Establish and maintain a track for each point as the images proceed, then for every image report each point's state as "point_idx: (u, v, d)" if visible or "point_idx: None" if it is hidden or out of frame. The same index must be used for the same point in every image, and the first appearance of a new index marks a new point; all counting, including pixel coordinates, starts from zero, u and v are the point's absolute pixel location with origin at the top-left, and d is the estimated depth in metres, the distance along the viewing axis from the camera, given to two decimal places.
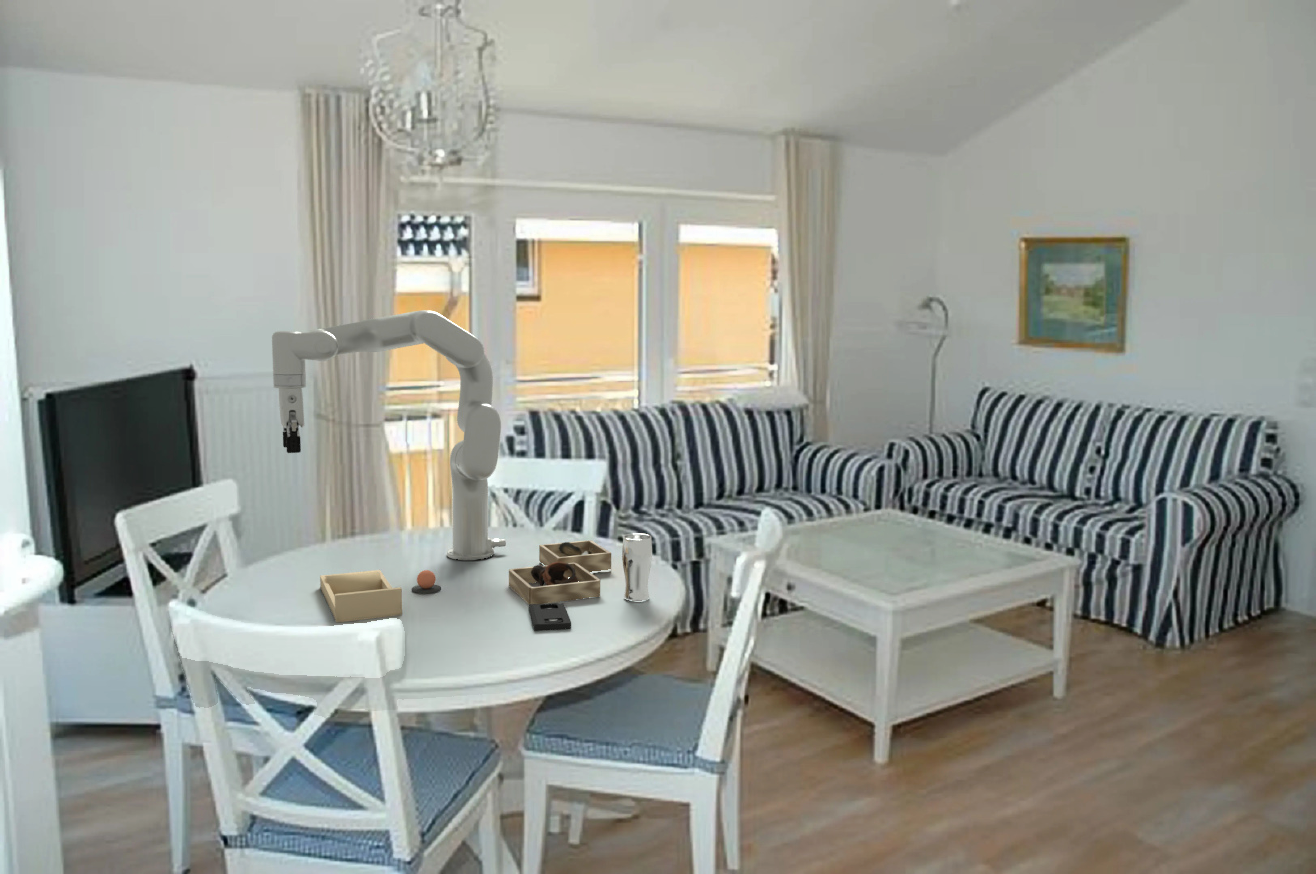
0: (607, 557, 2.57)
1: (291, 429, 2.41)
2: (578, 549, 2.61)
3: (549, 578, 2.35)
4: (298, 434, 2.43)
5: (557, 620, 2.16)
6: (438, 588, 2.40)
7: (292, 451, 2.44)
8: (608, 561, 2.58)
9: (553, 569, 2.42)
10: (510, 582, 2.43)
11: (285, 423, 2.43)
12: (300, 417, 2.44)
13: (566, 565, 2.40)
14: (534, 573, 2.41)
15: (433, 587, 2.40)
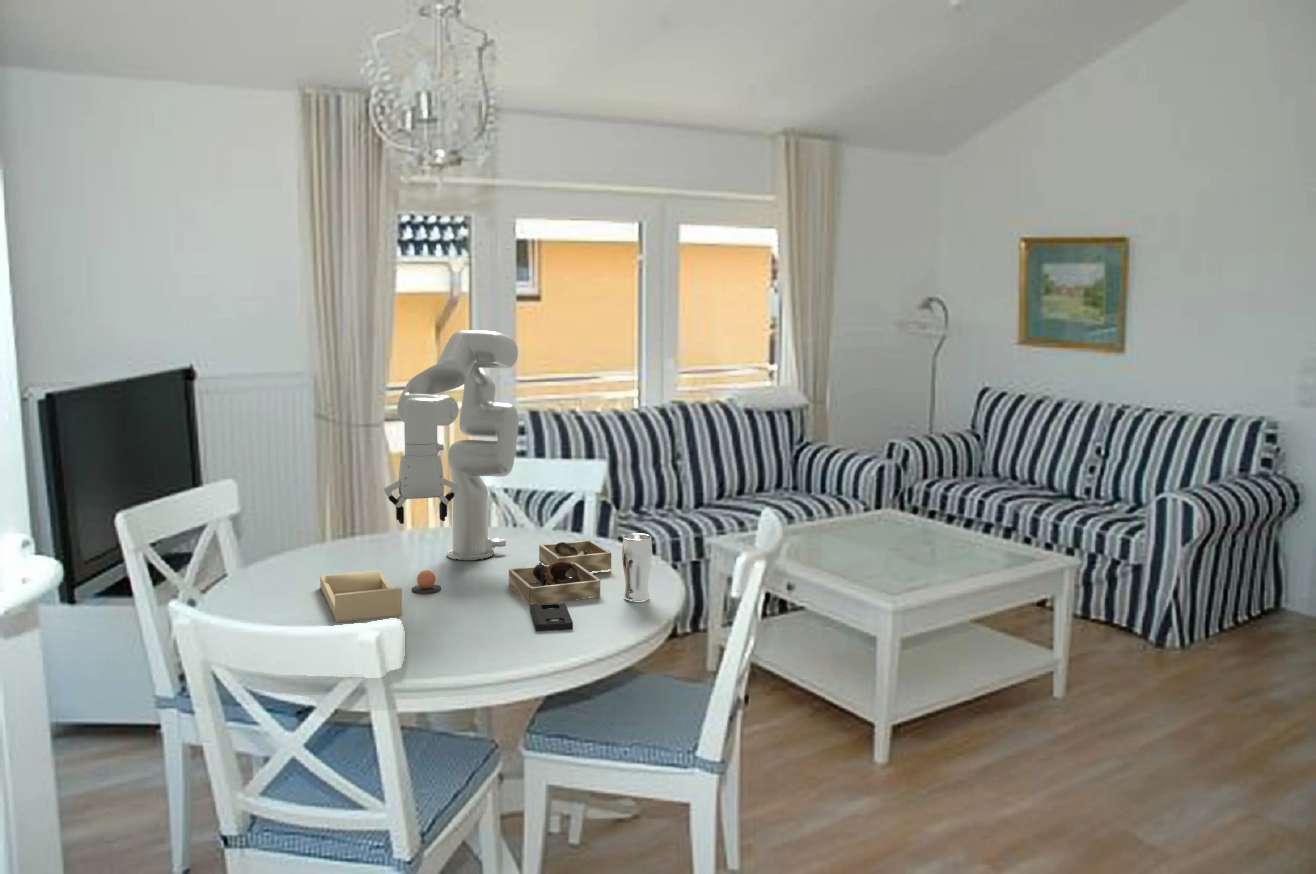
0: (607, 557, 2.57)
1: None
2: (574, 549, 2.60)
3: (551, 577, 2.36)
4: None
5: (558, 620, 2.16)
6: (438, 588, 2.40)
7: None
8: (608, 561, 2.58)
9: (555, 568, 2.43)
10: (510, 582, 2.43)
11: (443, 491, 2.37)
12: None
13: (568, 564, 2.40)
14: (536, 572, 2.42)
15: (433, 587, 2.40)
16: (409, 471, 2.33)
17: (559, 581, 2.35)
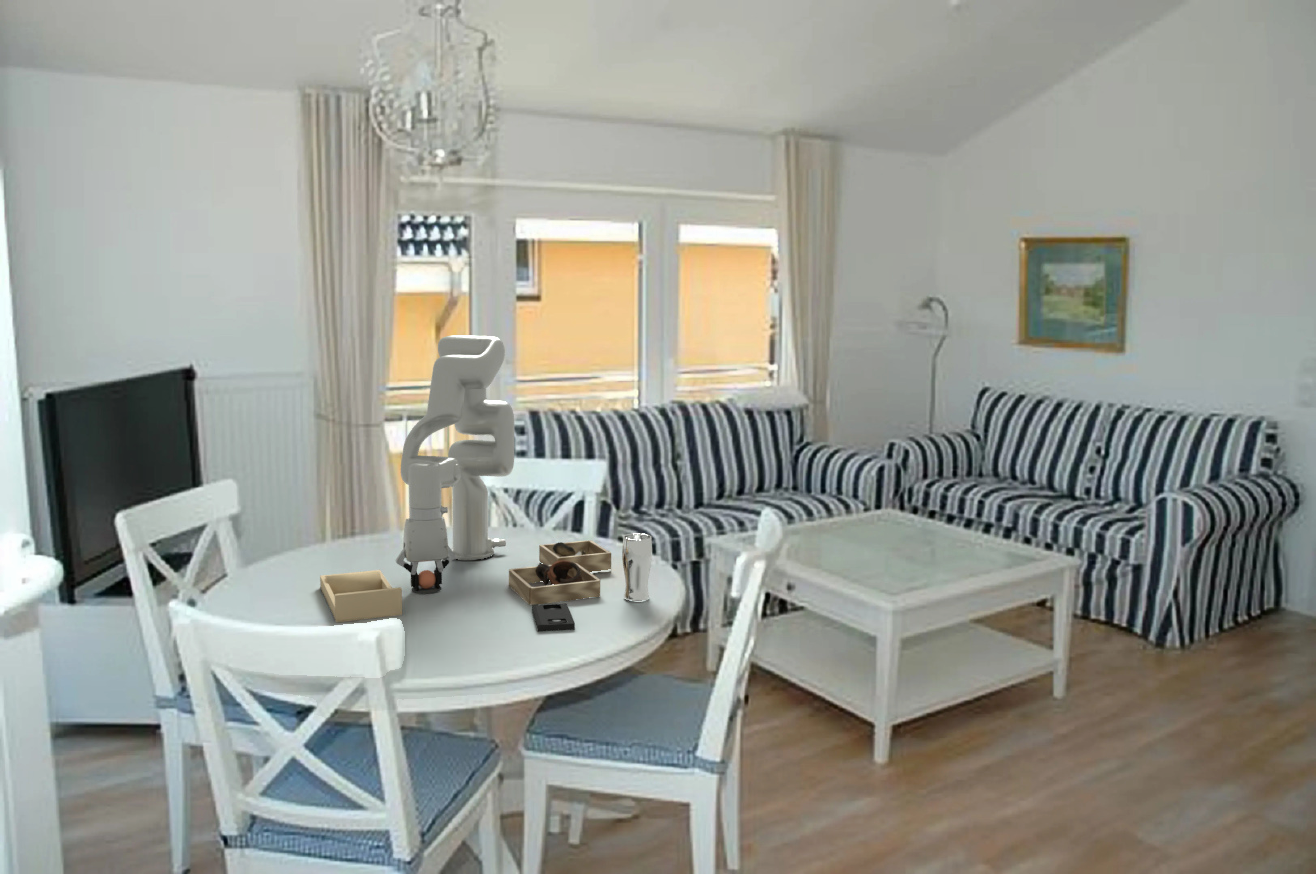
0: (607, 557, 2.57)
1: (448, 562, 2.40)
2: (572, 549, 2.60)
3: (554, 576, 2.37)
4: None
5: (560, 620, 2.15)
6: None
7: None
8: (608, 561, 2.58)
9: (557, 568, 2.44)
10: (510, 582, 2.43)
11: (447, 553, 2.39)
12: None
13: (571, 564, 2.41)
14: (539, 572, 2.42)
15: (433, 587, 2.40)
16: (414, 535, 2.34)
17: (562, 580, 2.36)
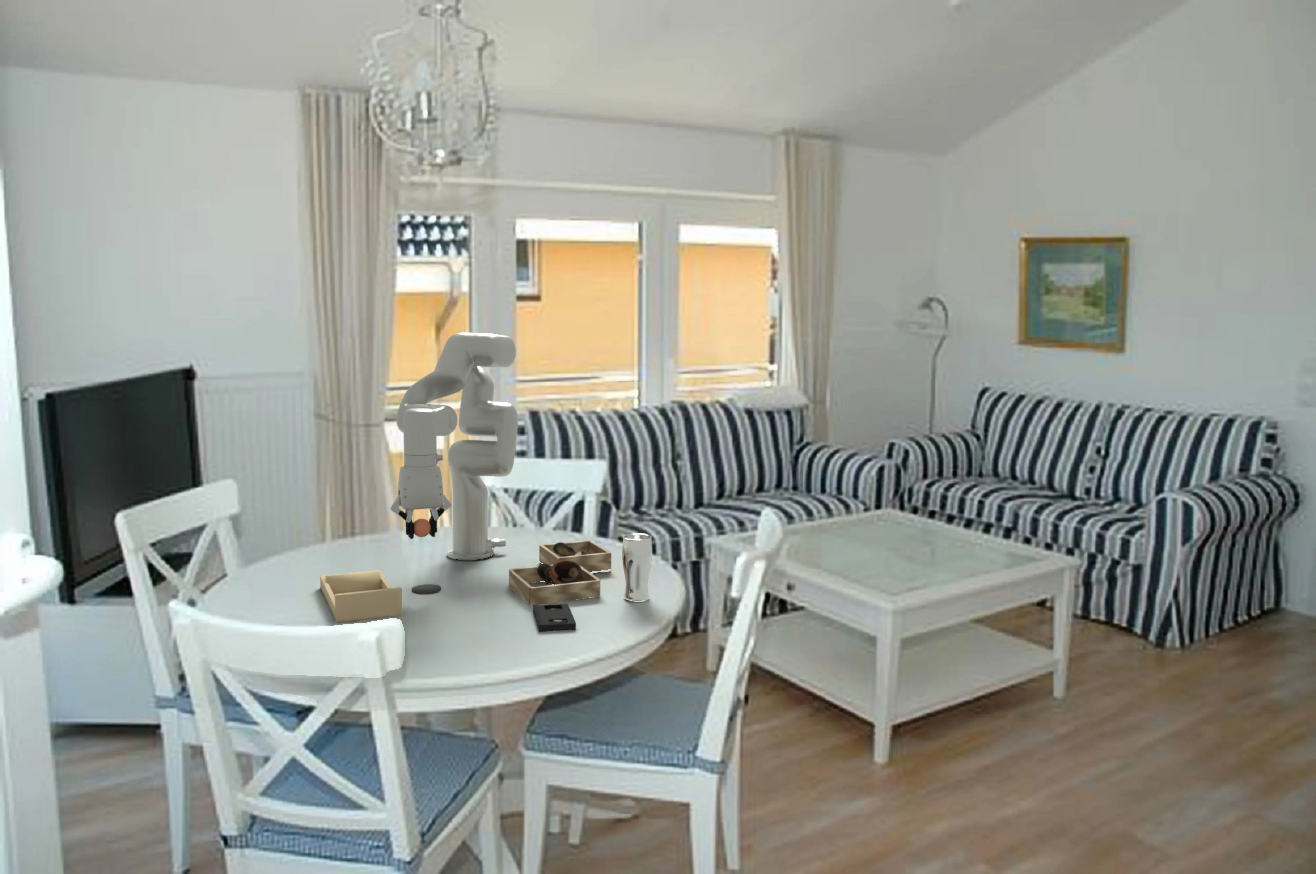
0: (607, 557, 2.57)
1: (444, 510, 2.39)
2: (572, 549, 2.60)
3: (556, 576, 2.37)
4: None
5: (561, 620, 2.15)
6: (438, 588, 2.40)
7: None
8: (608, 561, 2.58)
9: (559, 567, 2.44)
10: (510, 582, 2.43)
11: (443, 501, 2.37)
12: None
13: (572, 563, 2.42)
14: (540, 571, 2.43)
15: (433, 587, 2.40)
16: (409, 482, 2.32)
17: (564, 580, 2.37)
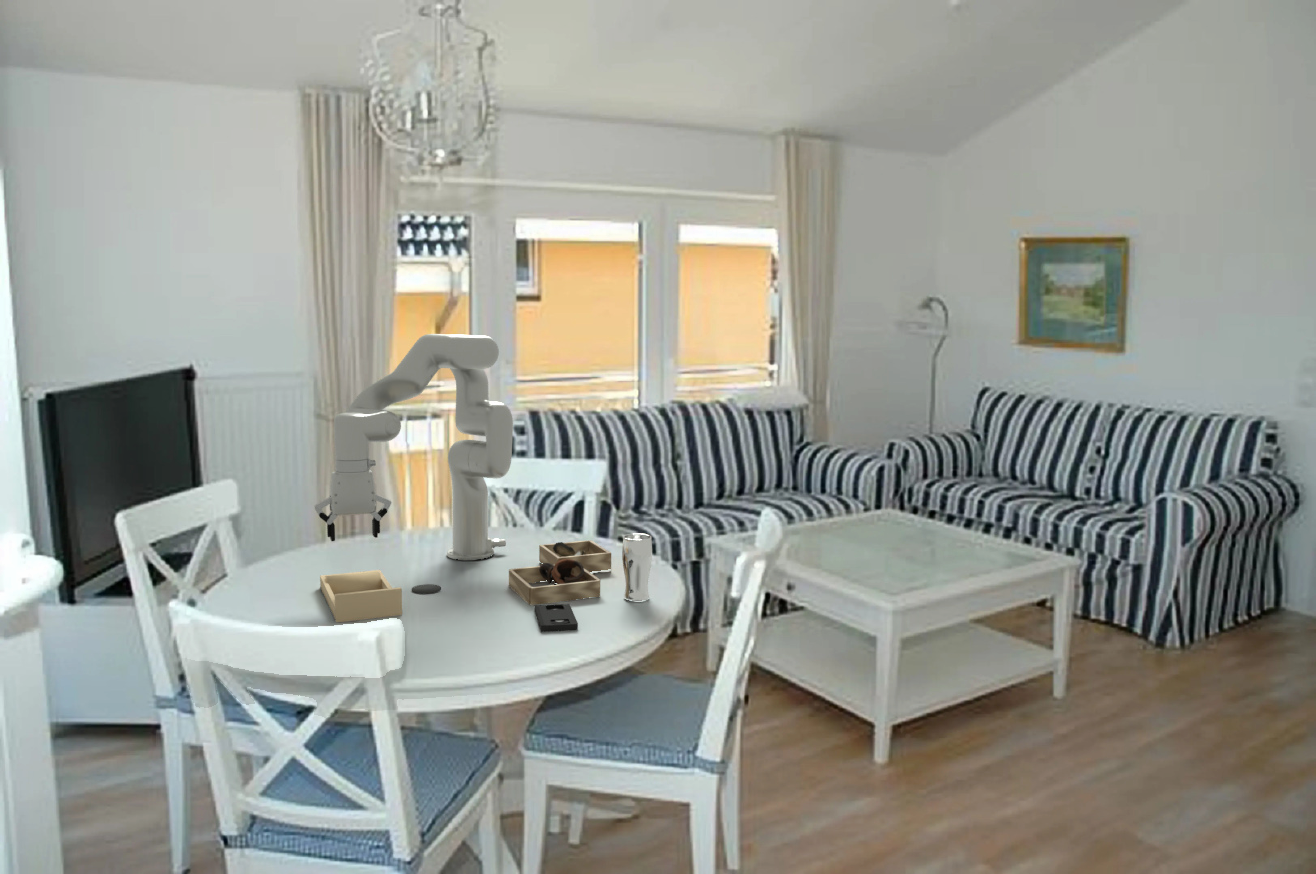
0: (607, 557, 2.57)
1: (387, 510, 2.36)
2: (571, 549, 2.60)
3: (558, 575, 2.38)
4: None
5: (563, 621, 2.15)
6: (438, 588, 2.40)
7: None
8: (608, 561, 2.58)
9: (561, 566, 2.45)
10: (510, 582, 2.43)
11: (375, 507, 2.34)
12: None
13: (574, 562, 2.42)
14: (542, 570, 2.43)
15: (433, 587, 2.40)
16: (340, 488, 2.29)
17: (566, 579, 2.37)
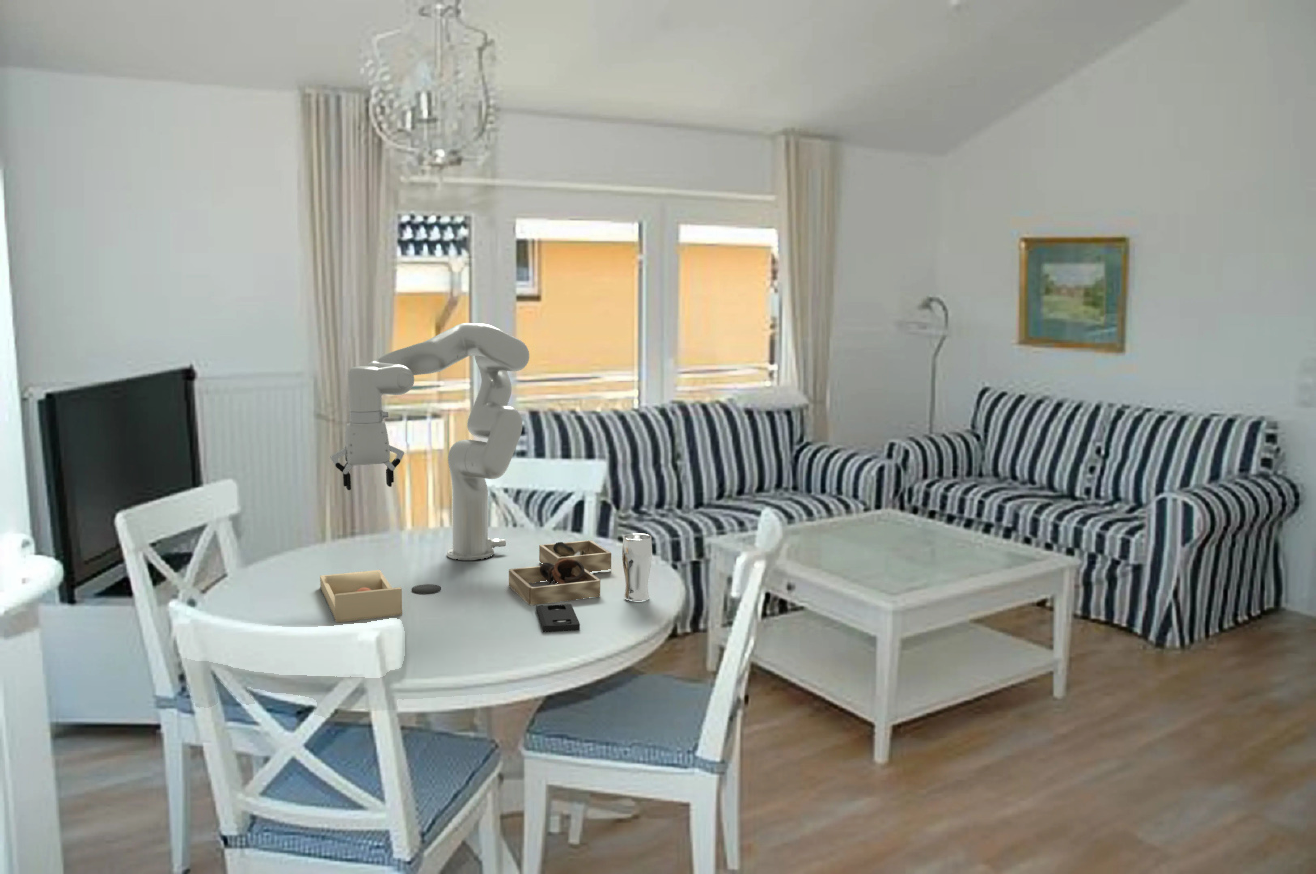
0: (607, 557, 2.57)
1: (400, 460, 2.45)
2: (571, 549, 2.60)
3: (559, 575, 2.38)
4: None
5: (565, 621, 2.15)
6: (438, 588, 2.40)
7: None
8: (608, 561, 2.58)
9: (561, 566, 2.45)
10: (510, 582, 2.43)
11: (389, 457, 2.43)
12: None
13: (575, 562, 2.43)
14: (543, 570, 2.44)
15: (433, 587, 2.40)
16: (354, 438, 2.38)
17: (566, 578, 2.38)
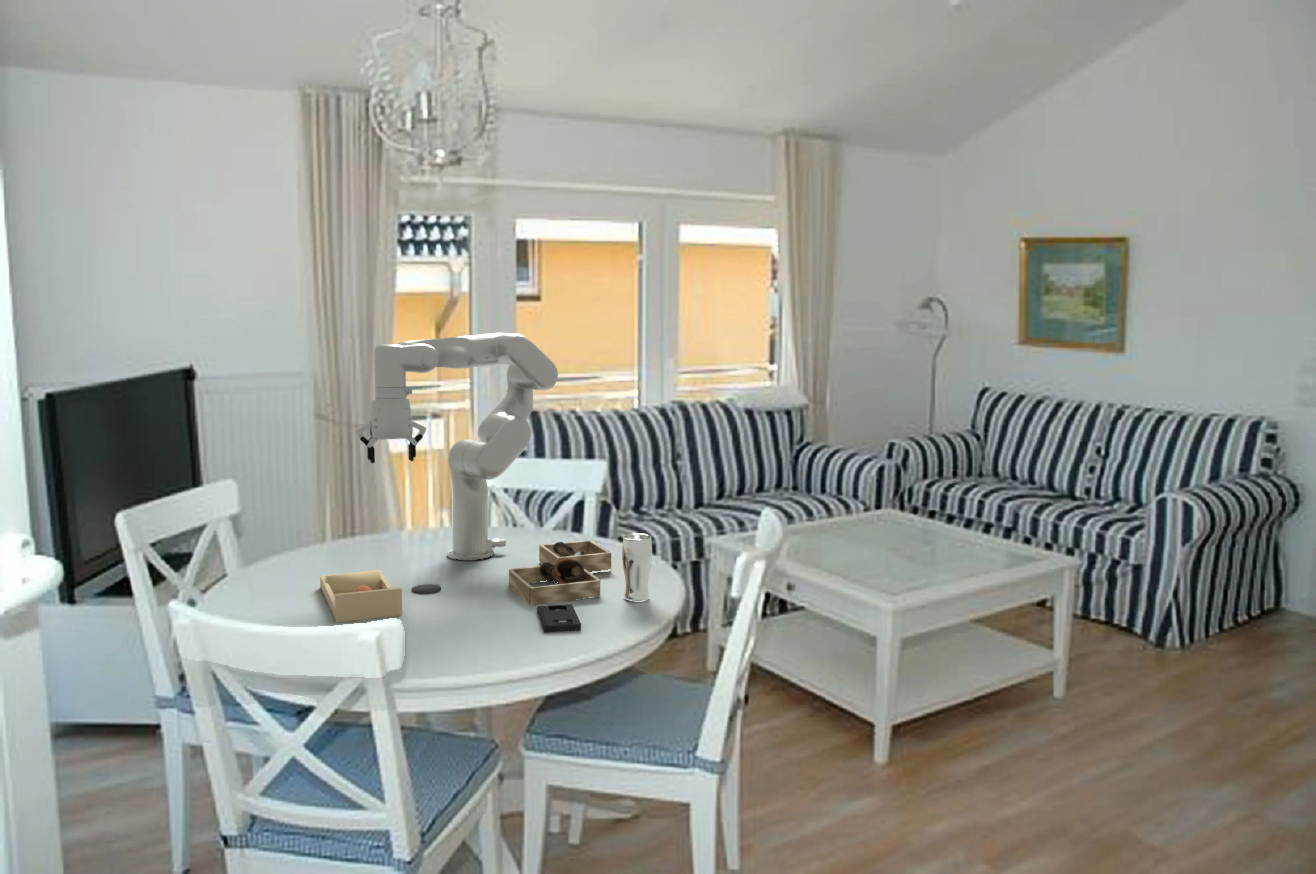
0: (607, 557, 2.57)
1: (422, 436, 2.54)
2: (571, 549, 2.60)
3: (559, 575, 2.38)
4: None
5: (566, 621, 2.15)
6: (438, 588, 2.40)
7: None
8: (608, 561, 2.58)
9: (561, 566, 2.45)
10: (510, 582, 2.43)
11: (412, 433, 2.52)
12: None
13: (574, 562, 2.43)
14: (543, 570, 2.44)
15: (433, 587, 2.40)
16: (379, 413, 2.47)
17: (566, 578, 2.38)
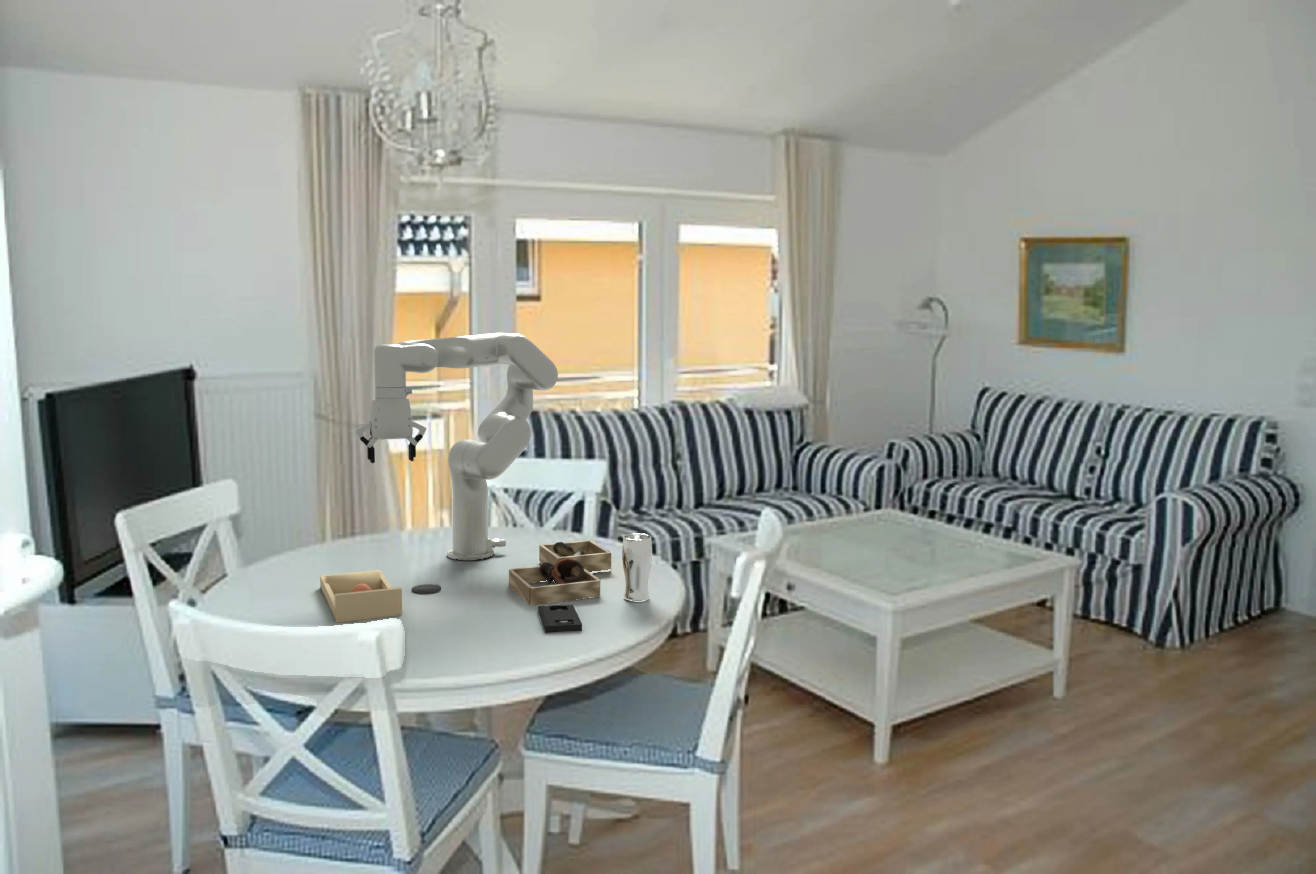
0: (607, 557, 2.57)
1: (422, 436, 2.54)
2: (571, 549, 2.60)
3: (559, 575, 2.38)
4: None
5: (567, 621, 2.15)
6: (438, 588, 2.40)
7: None
8: (608, 561, 2.58)
9: (561, 566, 2.45)
10: (510, 582, 2.43)
11: (412, 433, 2.52)
12: None
13: (574, 562, 2.43)
14: (542, 570, 2.44)
15: (433, 587, 2.40)
16: (379, 413, 2.47)
17: (566, 578, 2.38)
